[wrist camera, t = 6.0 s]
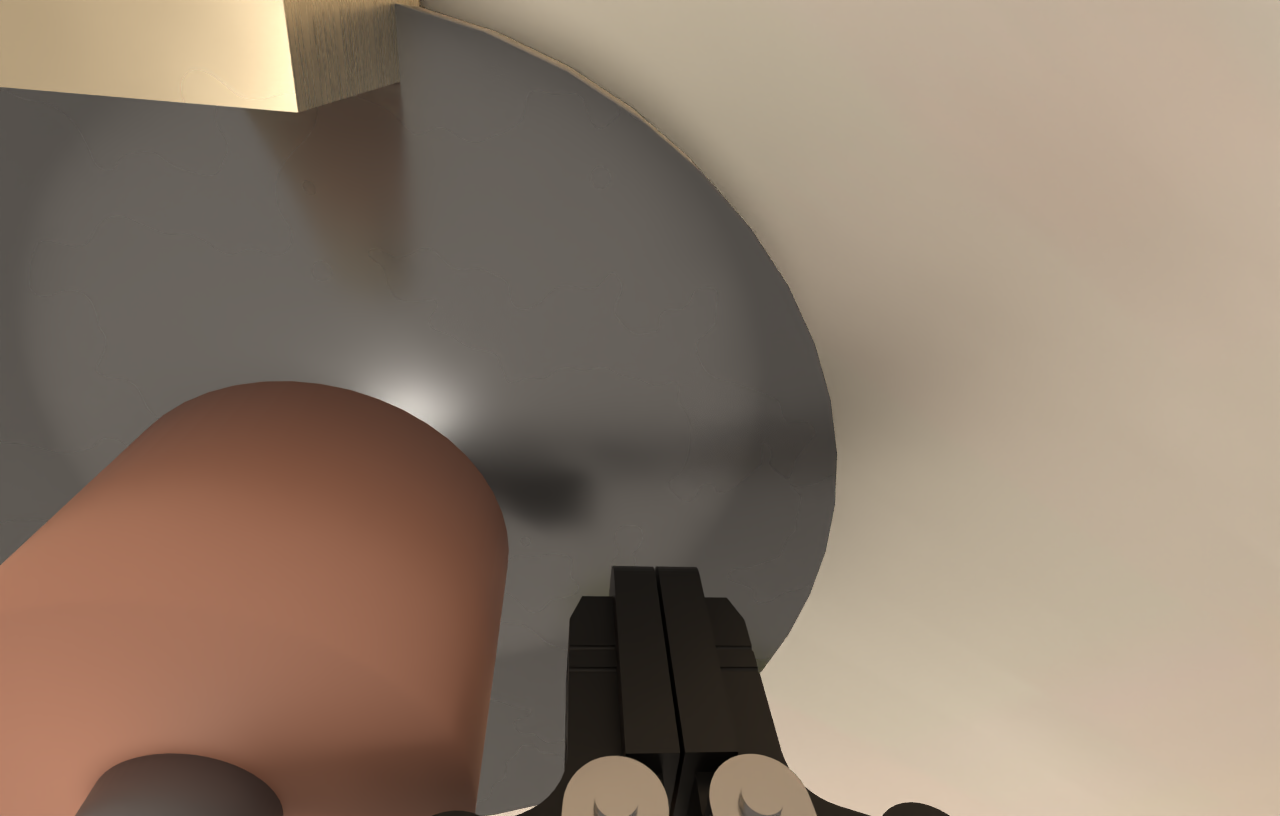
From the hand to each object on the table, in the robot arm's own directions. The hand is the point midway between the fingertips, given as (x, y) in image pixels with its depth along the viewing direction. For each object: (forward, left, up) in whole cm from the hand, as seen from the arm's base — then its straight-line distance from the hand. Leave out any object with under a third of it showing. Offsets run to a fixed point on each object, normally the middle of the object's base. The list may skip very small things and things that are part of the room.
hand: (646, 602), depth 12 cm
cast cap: (+6, 0, -2) cm, 6 cm away
